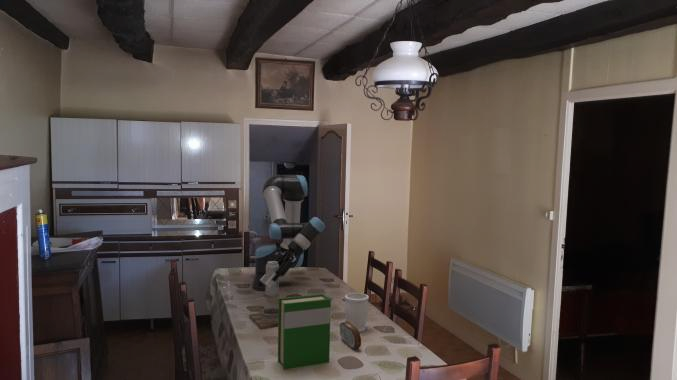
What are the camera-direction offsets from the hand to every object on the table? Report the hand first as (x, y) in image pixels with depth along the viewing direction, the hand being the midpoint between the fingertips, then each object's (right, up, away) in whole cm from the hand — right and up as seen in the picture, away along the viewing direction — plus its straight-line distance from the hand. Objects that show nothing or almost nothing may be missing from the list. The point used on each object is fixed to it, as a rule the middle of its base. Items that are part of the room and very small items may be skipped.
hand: (264, 283), depth 226 cm
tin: (+38, -21, -22) cm, 48 cm away
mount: (+3, -18, +3) cm, 18 cm away
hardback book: (+20, -22, -40) cm, 49 cm away
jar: (+41, -19, -5) cm, 45 cm away
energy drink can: (+3, -6, +2) cm, 7 cm away
